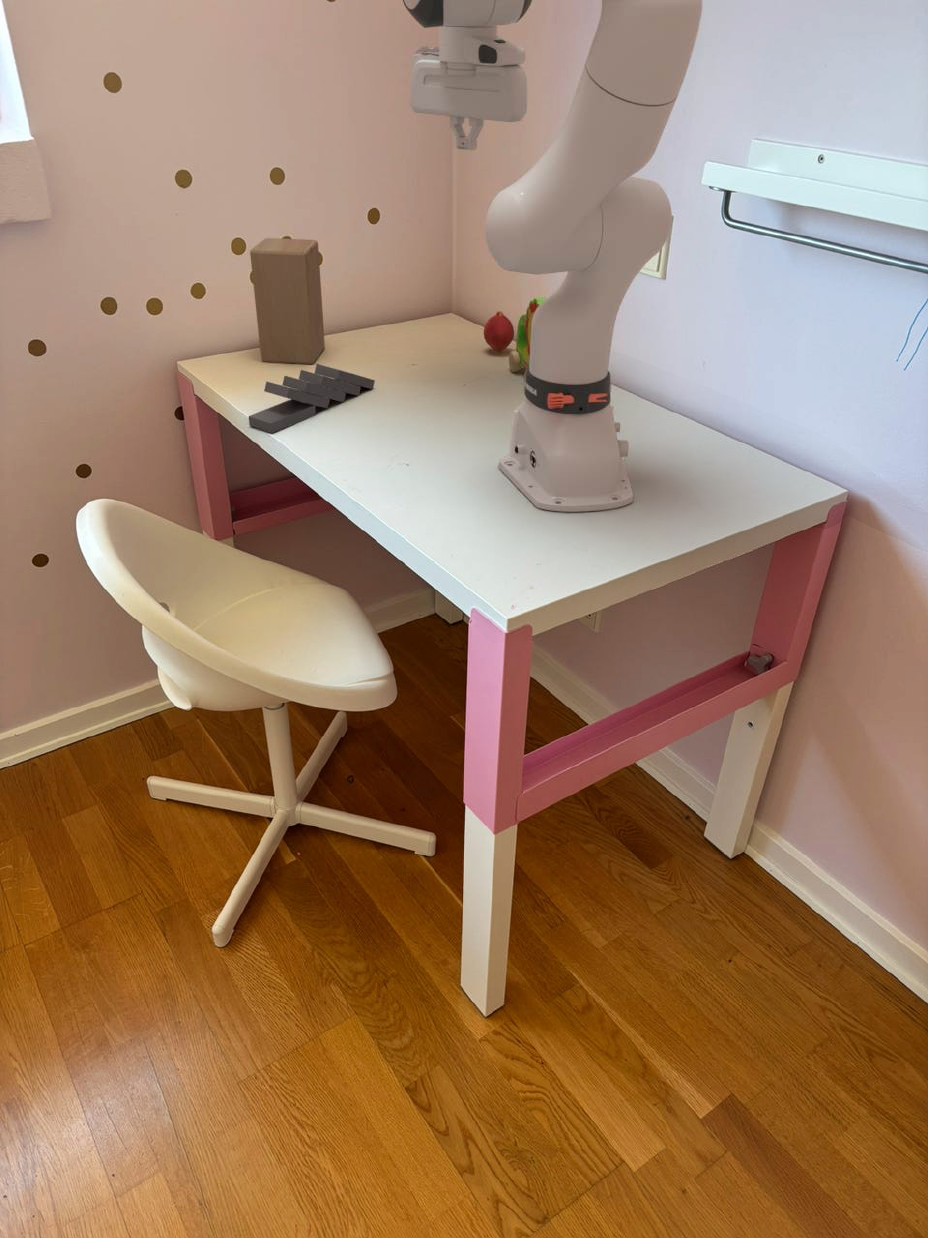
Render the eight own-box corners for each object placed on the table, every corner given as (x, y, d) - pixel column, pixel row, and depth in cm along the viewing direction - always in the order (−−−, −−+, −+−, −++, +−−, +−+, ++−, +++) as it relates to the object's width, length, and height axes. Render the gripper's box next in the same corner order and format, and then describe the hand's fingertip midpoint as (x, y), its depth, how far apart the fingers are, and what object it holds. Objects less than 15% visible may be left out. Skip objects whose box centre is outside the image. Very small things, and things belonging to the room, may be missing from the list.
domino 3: (323, 386, 162) (284, 375, 154) (345, 392, 160) (307, 381, 151) (321, 396, 163) (282, 385, 154) (343, 402, 160) (304, 392, 152)
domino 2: (292, 398, 157) (248, 416, 150) (315, 405, 155) (271, 423, 148) (293, 408, 158) (249, 426, 151) (315, 414, 156) (272, 433, 149)
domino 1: (307, 392, 160) (266, 381, 151) (329, 398, 157) (289, 387, 149) (305, 402, 160) (264, 391, 151) (327, 408, 158) (286, 398, 149)
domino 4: (338, 380, 165) (300, 369, 157) (360, 386, 163) (323, 375, 154) (336, 389, 165) (298, 379, 157) (358, 396, 163) (320, 386, 155)
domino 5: (352, 374, 168) (316, 363, 159) (374, 380, 166) (339, 369, 157) (350, 383, 168) (314, 373, 160) (372, 389, 166) (337, 379, 157)
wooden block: (325, 347, 184) (318, 239, 173) (313, 364, 176) (305, 251, 165) (275, 345, 185) (264, 237, 174) (260, 362, 177) (248, 249, 165)
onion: (481, 347, 186) (482, 305, 181) (510, 346, 186) (512, 305, 182) (485, 356, 181) (486, 314, 177) (515, 356, 182) (517, 314, 177)
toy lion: (506, 368, 176) (509, 284, 168) (534, 366, 177) (539, 282, 169) (532, 398, 163) (537, 309, 155) (562, 396, 164) (568, 307, 156)
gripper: (401, 45, 147) (402, 144, 155) (512, 52, 137) (508, 157, 145) (425, 44, 151) (426, 140, 159) (535, 50, 142) (529, 153, 149)
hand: (466, 149), depth 152 cm, fingers closed
